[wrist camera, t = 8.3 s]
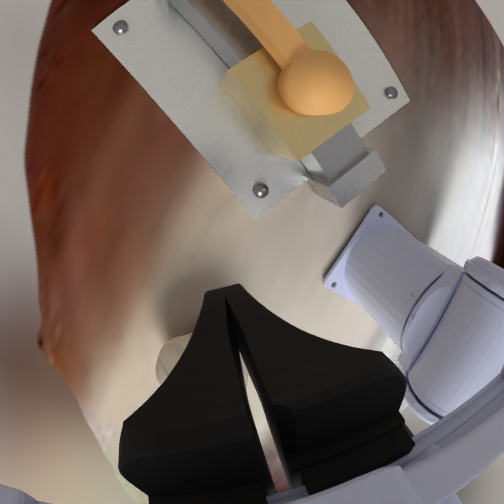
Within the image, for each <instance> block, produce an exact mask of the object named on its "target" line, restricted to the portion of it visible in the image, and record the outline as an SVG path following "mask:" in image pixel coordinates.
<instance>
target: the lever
mask: <svg viewBox="0 0 504 504" xmlns="http://www.w3.org/2000/svg"><path fill="white" fill-rule="evenodd" d="M223 1H224V2H225V4H226V5H227V6H228V7H229V8H230V9H231V10H232V11H233V12H234V13H235V14H236V15H237V16H238V17H239V18H240V20H241V21H242V22H243V23H244V24H245V25H246V26H247V27H248V28H249V30H250V31H251V32H252V33H253V34H254V35H255V37H256V38H257V39H258V40H259V41H260V42H261V44H262V45H263V46H264V47H265V48H266V50H267V51H268V52H269V53H270V55H271V56H272V57H273V58H274V60H275V61H276V62H277V63H278V65H279V66H280V67H281V69H282V71H281V72H280V75H279V79H278V88H279V92H280V95H281V97H282V99H283V101H284V102H285V104H286V105H287V106H288V107H289V108H290V109H292V110H293V111H295V112H297V113H299V114H302V115H306V116H316V115H329V114H335V113H337V112H339V111H341V110H343V109H344V108H345V107H346V106H347V105H348V103H349V102H350V100H351V98H352V95H353V79H352V76H351V73H350V71H349V69H348V67H347V66H346V65H345V63H344V62H343V61H342V60H341V59H340V58H338V57H337V56H335V55H334V54H332V53H329V52H326V51H321V50H313V51H312V50H311V49H310V47H309V46H308V45H307V43H306V42H305V41H304V39H303V38H302V37H301V36H300V34H299V33H298V32H297V31H296V29H295V28H294V27H293V26H292V25H291V23H290V22H289V21H288V20H287V19H286V17H285V16H284V15H283V14H282V13H281V12H280V10H279V9H278V8H277V7H276V6H275V5H274V4H273V3H272V1H271V0H223Z"/></svg>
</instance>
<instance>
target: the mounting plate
mask: <svg viewBox="0 0 504 504" xmlns="http://www.w3.org/2000/svg"><path fill="white" fill-rule="evenodd" d="M271 1H272V3H273V4H274V5H275V6H276V7H277V8H278V9H279V10H280V12H281V13H282V14H283V15H284V16H285V17H286V19H287V20H288V21H289V22H290V23H291V25H292V26H293V27H294V28H295V29H297V28H299V27H301V26H303V25H305V24H307V23H309V22H311V21H312V22H313V24H314V25H315V26H316V27H317V29H318V30H319V31H320V32H321V34H322V35H323V36H324V38H325V39H326V40H327V42H328V43H329V44H330V46H331V47H332V48H333V50H334V51H335V53H336V54H337V55H338V57H339V58H340V59H341V60H342V61H343V62H344V63H345V65H346V66H347V67H348V69H349V71H350V73H351V76H352V78H353V79H354V81H355V82H356V84H357V86H358V87H359V89H360V90H361V92H362V94H363V95H364V97H365V99H366V100H367V102H368V104H369V105H370V107H371V108H370V109H369V110H367V111H366V112H364V113H363V114H362V115H360V116H359V117H358V118H356V119H355V120H353V121H352V122H351V123H352V125H353V127H354V128H355V130H356V132H357V134H358V135H359V137H360V138H362V137H363V136H364V135H366V134H367V133H368V132H370V131H371V130H372V129H373V128H375V127H376V126H377V125H379V124H380V123H381V122H383V121H384V120H385V119H387V118H388V117H389V116H391V115H392V114H393V113H395V112H396V111H397V110H399V109H400V108H401V107H403V106H404V105H405V104H407V103H408V102H409V101H410V100H409V98H408V96H407V94H406V92H405V90H404V88H403V86H402V85H401V83H400V81H399V79H398V77H397V76H396V74H395V72H394V70H393V69H392V67H391V65H390V64H389V62H388V60H387V59H386V57H385V55H384V54H383V52H382V50H381V49H380V47H379V46H378V44H377V43H376V41H375V40H374V38H373V37H372V35H371V34H370V32H369V31H368V29H367V28H366V27H365V25H364V24H363V22H362V21H361V20H360V18H359V17H358V15H357V14H356V13H355V11H354V10H353V9H352V8H351V6H350V5H349V4H348V2H347V1H346V0H271ZM91 31H92V32H93V33H94V34H95V35H96V36H97V37H98V38H99V39H100V40H101V41H102V43H103V44H104V45H105V46H106V47H107V48H108V49H109V50H110V51H111V52H112V53H113V55H114V56H115V57H116V58H117V59H118V60H119V61H120V62H121V63H122V64H123V66H124V67H125V68H126V69H127V70H128V71H129V72H130V73H131V75H132V76H133V77H134V78H135V79H136V80H137V81H138V82H139V83H140V85H141V86H142V87H143V88H144V89H145V90H146V91H147V93H148V94H149V95H150V96H151V97H152V98H153V99H154V100H155V102H156V103H157V104H158V105H159V106H160V107H161V108H162V110H163V111H164V112H165V113H166V114H167V115H168V116H169V118H170V119H171V120H172V121H173V122H174V123H175V125H176V126H177V127H178V128H179V129H180V130H181V132H182V133H183V134H184V135H185V136H186V137H187V138H188V140H189V141H190V142H191V143H192V144H193V145H194V147H195V148H196V149H197V150H198V151H199V153H200V154H201V155H202V156H203V157H204V158H205V160H206V161H207V162H208V163H209V164H210V166H211V167H212V168H213V169H214V170H215V171H216V173H217V174H218V175H219V176H220V177H221V179H222V180H223V181H224V182H225V183H226V185H227V186H228V187H229V188H230V189H231V191H232V192H233V193H234V194H235V195H236V197H237V198H238V199H239V200H240V201H241V203H242V204H243V205H244V206H245V207H246V209H247V210H248V211H249V212H250V213H251V215H252V216H253V217H254V218H255V220H257V219H259V218H260V217H261V216H262V215H263V214H265V213H266V212H267V211H268V210H270V209H271V208H272V207H273V206H275V205H276V204H277V203H278V202H280V201H281V200H282V199H283V198H285V197H286V196H287V195H289V194H290V193H291V192H292V191H294V190H295V189H296V188H297V187H299V186H300V185H301V184H302V183H304V182H305V181H306V178H305V176H306V175H307V174H309V172H308V170H307V169H306V167H305V166H304V164H303V163H302V161H301V160H300V161H299V162H297V161H293V160H290V159H287V158H283V157H280V156H276V155H274V153H273V152H272V151H271V149H270V148H269V147H268V145H267V144H266V143H265V141H264V140H263V139H262V138H261V136H260V135H259V134H258V132H257V131H256V130H255V128H254V127H253V126H252V125H251V123H250V122H249V121H248V120H247V118H246V117H245V116H244V115H243V113H242V112H241V111H240V110H239V108H238V107H237V106H236V105H235V103H234V102H233V101H232V100H231V99H230V97H229V96H228V95H227V94H226V92H225V91H224V90H223V89H222V88H221V87H220V85H219V83H220V81H221V80H222V78H223V77H224V75H225V73H226V72H227V70H229V69H230V68H229V66H228V65H227V64H226V63H225V62H224V61H223V59H222V58H221V57H220V56H219V55H218V54H217V53H216V52H215V50H214V49H213V48H212V47H211V46H210V45H209V44H208V43H207V41H206V40H205V39H204V38H203V37H202V36H201V35H200V34H199V33H198V32H197V31H196V30H195V29H194V27H193V26H192V25H191V24H190V23H189V22H188V21H187V20H186V19H185V18H184V17H183V16H182V15H181V14H180V13H179V12H178V11H177V10H176V9H175V8H173V9H171V10H170V11H168V10H167V9H166V8H165V7H164V6H163V5H162V4H161V3H160V2H159V1H158V0H130V1H128V2H127V3H126V4H124V5H123V6H122V7H120V8H119V9H117V10H116V11H115V12H113V13H112V14H111V15H110V16H108V17H107V18H106V19H105V20H103V21H102V22H101V23H100V24H98V25H97V26H96V27H95V28H94V29H92V30H91Z"/></svg>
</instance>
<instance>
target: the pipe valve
mask: <svg viewBox="0 0 504 504" xmlns="http://www.w3.org/2000/svg"><path fill="white" fill-rule="evenodd" d="M158 1H159V2H160V3H161V4H162V5H163V6H164V7H165V8H166V9H167V10H168V11H170V10H171V9H173V8H175V9H176V10H177V11H178V12H179V13H180V14H181V15H182V16H183V17H184V18H185V19H186V20H187V21H188V22H189V23H190V24H191V25H192V26H193V27H194V29H195V30H196V31H197V32H198V33H199V34H200V35H201V36H202V37H203V38H204V39H205V40H206V41H207V43H208V44H209V45H210V46H211V47H212V48H213V49H214V50H215V52H216V53H217V54H218V55H219V56H220V57H221V58H222V59H223V61H224V62H225V63H226V64H227V65H228V66H229V68H230V69H229V70H227V72H226V73H225V75H224V77H223V78H222V80H221V81H220V83H219V85H220V87H221V88H222V89H223V90H224V91H225V92H226V94H227V95H228V96H229V97H230V99H231V100H232V101H233V102H234V103H235V105H236V106H237V107H238V108H239V110H240V111H241V112H242V113H243V115H244V116H245V117H246V118H247V120H248V121H249V122H250V123H251V125H252V126H253V127H254V128H255V130H256V131H257V132H258V134H259V135H260V136H261V138H262V139H263V140H264V141H265V143H266V144H267V145H268V147H269V148H270V149H271V151H272V152H273V153H274V155H276V156H280V157H283V158H287V159H290V160H293V161H297V162H299V161H300V160H301V161H302V163H303V164H304V166H305V167H306V169H307V170H308V172H309V174H307V175H306V176H305V178H306V181H307V182H308V184H309V185H310V187H311V188H312V190H313V191H314V193H315V194H317V195H319V196H320V197H322V198H324V199H326V200H328V201H330V202H331V203H333V204H335V205H337V206H339V207H340V208H342V207H343V206H345V205H346V204H347V203H348V202H349V201H351V200H352V199H353V198H354V197H356V196H357V195H358V194H359V193H360V192H362V191H363V190H364V189H365V188H366V187H368V186H369V185H370V184H371V183H372V182H374V181H375V180H376V179H377V178H378V177H379V176H381V175H382V174H383V173H384V172H385V171H387V170H386V168H385V166H384V164H383V162H382V160H381V158H380V156H379V154H378V152H377V150H376V149H371V148H365V146H364V144H363V142H362V140H361V139H360V137H359V135H358V134H357V132H356V130H355V128H354V127H353V125H352V123H351V122H352V121H353V120H355V119H356V118H358V117H359V116H360V115H362V114H363V113H364V112H366V111H367V110H369V109H370V108H371V107H370V105H369V104H368V102H367V100H366V99H365V97H364V95H363V94H362V92H361V90H360V89H359V87H358V86H357V84H356V82H355V81H354V79H353V78H352V79H353V95H352V98H351V100H350V102H349V103H348V105H347V106H346V107H345V108H344V109H343V110H341V111H339V112H337V113H335V114H329V115H316V116H306V115H302V114H299V113H297V112H295V111H293V110H292V109H290V108H289V107H288V106H287V105H286V104H285V102H284V101H283V99H282V97H281V95H280V92H279V88H278V79H279V75H280V72H281V71H282V69H281V67H280V66H279V65H278V63H277V62H276V61H275V60H274V58H273V57H272V56H271V55H270V53H269V52H268V51H267V50H266V48H265V47H264V46H263V45H262V44H261V42H260V41H259V40H258V39H257V38H256V37H255V35H254V34H253V33H252V32H251V31H250V30H249V28H248V27H247V26H246V25H245V24H244V23H243V22H242V21H241V20H240V18H239V17H238V16H237V15H236V14H235V13H234V12H233V11H232V10H231V9H230V8H229V7H228V6H227V5H226V4H225V2H224V1H223V0H158ZM296 31H297V32H298V33H299V34H300V36H301V37H302V38H303V39H304V41H305V42H306V43H307V45H308V46H309V47H310V49H311V50H312V51H313V50H321V51H326V52H329V53H332V54H334V55H335V56H337V57H338V55H337V54H336V53H335V51H334V50H333V48H332V47H331V46H330V44H329V43H328V42H327V40H326V39H325V38H324V36H323V35H322V34H321V32H320V31H319V30H318V29H317V27H316V26H315V25H314V24H313V22H312V21H311V22H309V23H307V24H305V25H303V26H301V27H299V28H297V29H296ZM338 58H339V57H338Z"/></svg>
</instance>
